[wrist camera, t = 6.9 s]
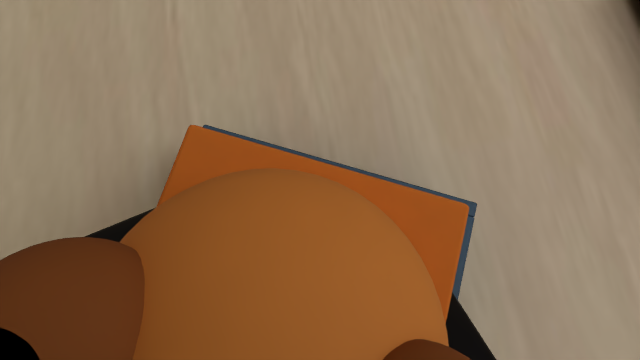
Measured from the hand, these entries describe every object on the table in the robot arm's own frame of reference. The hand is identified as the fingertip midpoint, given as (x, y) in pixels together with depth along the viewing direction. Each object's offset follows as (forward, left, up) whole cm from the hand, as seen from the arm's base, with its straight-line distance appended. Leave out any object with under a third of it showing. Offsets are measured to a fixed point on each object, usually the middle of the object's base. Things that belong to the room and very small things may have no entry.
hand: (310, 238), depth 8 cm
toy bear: (-1, -1, -6) cm, 6 cm away
